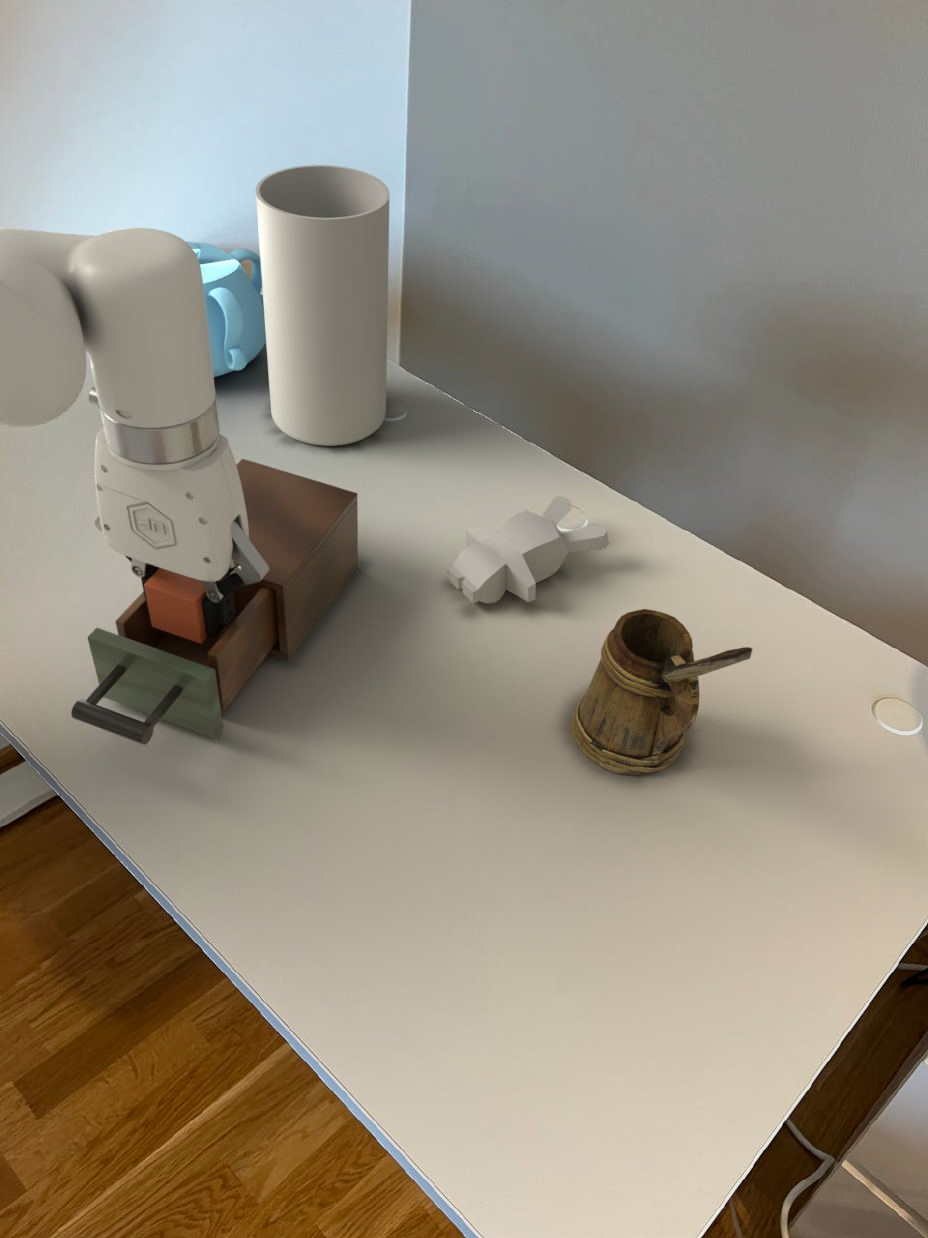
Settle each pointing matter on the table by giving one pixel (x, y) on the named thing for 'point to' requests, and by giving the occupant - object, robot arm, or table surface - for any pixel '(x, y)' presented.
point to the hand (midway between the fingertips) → (191, 614)
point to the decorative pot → (232, 306)
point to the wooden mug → (643, 694)
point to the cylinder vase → (325, 300)
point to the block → (176, 604)
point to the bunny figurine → (520, 553)
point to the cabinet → (299, 544)
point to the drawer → (177, 668)
